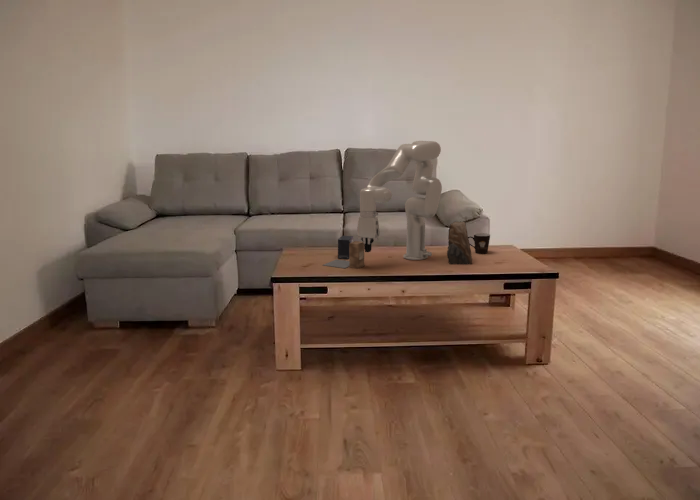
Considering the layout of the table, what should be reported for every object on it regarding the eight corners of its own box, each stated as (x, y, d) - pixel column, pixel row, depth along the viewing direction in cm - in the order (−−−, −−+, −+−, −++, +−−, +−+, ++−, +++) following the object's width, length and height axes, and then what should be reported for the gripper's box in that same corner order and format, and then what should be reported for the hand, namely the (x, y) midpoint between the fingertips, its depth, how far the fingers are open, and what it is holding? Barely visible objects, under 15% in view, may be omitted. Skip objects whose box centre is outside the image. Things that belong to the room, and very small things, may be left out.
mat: (358, 262, 296) (358, 262, 296) (344, 268, 285) (344, 267, 285) (336, 260, 303) (336, 259, 303) (322, 265, 292) (322, 264, 292)
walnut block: (364, 265, 290) (364, 242, 288) (358, 268, 285) (358, 244, 283) (355, 264, 293) (355, 241, 290) (349, 267, 288) (349, 243, 285)
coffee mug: (491, 252, 317) (492, 233, 315) (486, 255, 310) (487, 236, 308) (471, 249, 323) (471, 231, 321) (465, 252, 316) (466, 234, 314)
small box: (349, 259, 304) (349, 239, 301) (337, 259, 305) (337, 239, 303) (353, 254, 314) (353, 235, 312) (341, 254, 315) (341, 235, 313)
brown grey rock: (447, 264, 291) (448, 225, 287) (443, 258, 303) (444, 220, 299) (472, 264, 291) (474, 224, 287) (467, 258, 303) (469, 220, 299)
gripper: (385, 214, 280) (385, 251, 284) (358, 212, 287) (358, 248, 291) (378, 216, 273) (378, 254, 277) (350, 214, 281) (350, 251, 285)
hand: (367, 251), depth 284 cm, fingers closed
